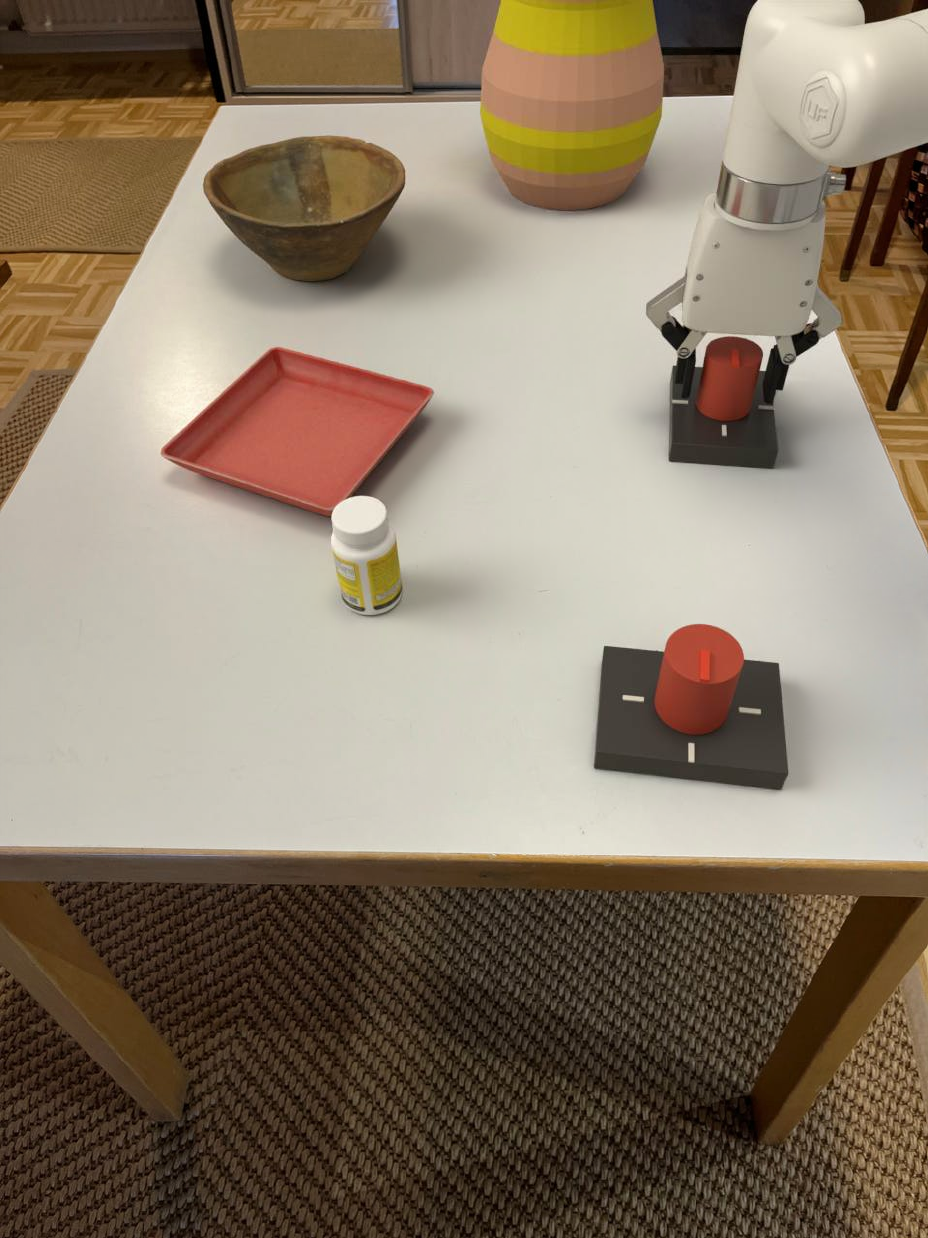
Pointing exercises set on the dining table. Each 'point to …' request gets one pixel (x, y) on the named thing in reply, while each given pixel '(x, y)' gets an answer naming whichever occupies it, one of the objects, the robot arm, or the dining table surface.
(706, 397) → the red cylindrical knob
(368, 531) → the supplement bottle
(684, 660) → the near red knob
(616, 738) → the dark tick-marked fixture
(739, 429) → the dark square slab
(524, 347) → the dining table surface
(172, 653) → the dining table surface
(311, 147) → the bowl
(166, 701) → the dining table surface
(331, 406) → the plant saucer
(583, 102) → the vase
